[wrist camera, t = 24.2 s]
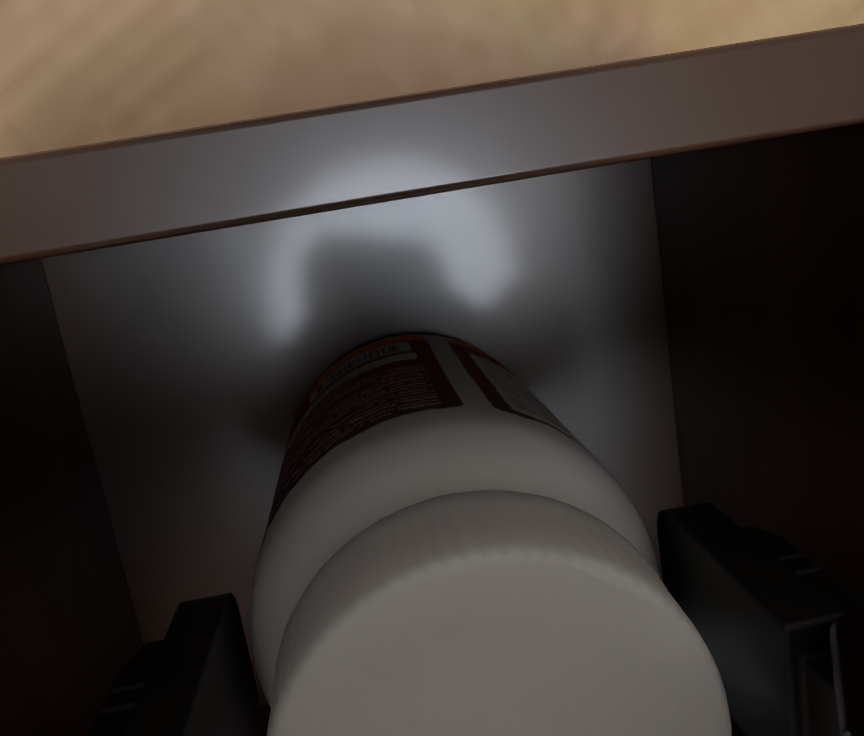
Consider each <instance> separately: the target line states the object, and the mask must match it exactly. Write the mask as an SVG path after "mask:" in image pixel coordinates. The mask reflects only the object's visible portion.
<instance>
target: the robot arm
mask: <svg viewBox="0 0 864 736" xmlns="http://www.w3.org/2000/svg"><path fill="white" fill-rule="evenodd" d="M657 533H658V542H659V551H660V561H661V570H662V580H663V583H664V585H665V586H666V588H667V590H668V592H669V593H670V594H671V596H672V597H673V598H674V599H675V601H676V602H677V603H678V605H679V606H680V607H681V609H682V610H683V611H684V613H685V614H686V615H687V616H688V618H689V619H690V620H691V622H692V623H693V625H694V626H695V628H696V629H697V631H698V632H699V634H700V635H701V637H702V639H703V640H704V642H705V644H706V646H707V647H708V649H709V651H710V653H711V654H712V656H713V658H714V661H715V663H716V665H717V668H718V670H719V673H720V676H721V679H722V682H723V685H724V689H725V692H726V696H727V702H728V707H729V712H730V715H731V717H732V718H733V719H734V721H735V722H736V724H737V725H738V726H739V728H740V729H741V730H742V732H743V733H744V734H745V736H864V600H863V599H862V598H860V597H859V596H858V595H857V594H855V593H854V592H853V591H851V590H850V589H849V588H847V587H846V586H845V585H844V584H842V583H841V582H840V581H838V580H837V579H836V578H835V577H833V576H832V575H831V574H829V573H828V572H827V571H822V570H821V567H820V566H819V565H818V564H816V563H815V562H814V561H813V560H811V559H810V558H809V557H804V555H803V553H802V552H801V551H800V550H798V549H797V548H796V547H794V546H793V545H792V544H791V543H789V542H788V541H787V540H785V539H784V538H783V537H781V536H778V535H775V534H773V533H770V532H767V531H765V530H762V529H759V528H756V527H754V526H745V527H740V526H738V525H737V524H736V523H735V522H734V521H732V520H731V519H730V518H729V517H728V516H726V515H725V514H724V513H723V512H722V511H720V510H719V509H718V508H717V507H716V506H714V505H713V504H712V503H710V502H708V501H706V502H701V503H696V504H691V505H686V506H680V507H675V508H670V509H665V510H661V511H659V513H658V516H657ZM110 692H111V694H109V695H107V697H106V699H105V701H104V703H103V705H102V707H101V709H100V711H101V714H100V715H98V716H97V718H96V720H95V722H94V724H93V726H92V728H91V730H90V732H89V734H88V736H259V732H260V704H259V696H258V689H257V684H256V680H255V676H254V671H253V667H252V663H251V659H250V654H249V650H248V646H247V641H246V637H245V633H244V629H243V624H242V620H241V616H240V611H239V608H238V604H237V601H236V599H235V597H234V595H233V594H232V593H226V594H220V595H215V596H210V597H205V598H200V599H195V600H189V601H184V602H181V603H180V604H179V605H178V607H177V610H176V612H175V614H174V617H173V619H172V621H171V624H170V626H169V628H168V631H167V633H166V635H165V638H164V639H163V640H158V641H153V642H148V643H146V644H145V645H144V646H143V647H142V648H141V649H140V650H139V651H138V652H136V653H135V654H134V655H133V656H132V657H131V658H130V659H129V660H128V661H127V662H126V663H125V664H124V665H123V666H122V667H121V669H120V671H119V673H118V675H117V677H116V679H115V681H114V683H113V685H112V687H111V689H110Z"/></svg>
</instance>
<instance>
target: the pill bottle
mask: <svg viewBox="0 0 864 736" xmlns="http://www.w3.org/2000/svg"><path fill="white" fill-rule="evenodd" d="M250 637H251V646H252V652H253V658H254V663H255V667H256V671H257V674H258V678H259V681H260V684H261V686H262V689H263V692H264V694H265V697H266V699H267V701H268V703H269V705H270V707H271V711H270V716H269V722H268V729H267V736H732V730H731V719H730V712H729V707H728V702H727V696H726V692H725V689H724V685H723V682H722V679H721V676H720V673H719V670H718V668H717V665H716V663H715V661H714V658H713V656H712V654H711V653H710V651H709V649H708V647H707V646H706V644H705V642H704V640H703V639H702V637H701V635H700V634H699V632H698V631H697V629H696V628H695V626H694V625H693V623H692V622H691V620H690V619H689V618H688V616H687V615H686V614H685V613H684V611H683V610H682V609H681V607H680V606H679V605H678V603H677V602H676V601H675V599H674V598H673V597H672V596H671V594H670V593H669V592H668V590H667V588H666V586H665V585H664V583H663V582H662V581H661V579H660V574H659V569H658V564H657V559H656V555H655V552H654V549H653V545H652V542H651V540H650V537H649V534H648V532H647V529H646V527H645V525H644V523H643V521H642V519H641V517H640V515H639V514H638V512H637V510H636V508H635V507H634V505H633V503H632V502H631V500H630V499H629V497H628V496H627V494H626V493H625V491H624V490H623V488H622V487H621V485H620V484H619V482H618V481H617V480H616V479H615V478H614V477H613V476H612V475H611V474H610V473H609V472H608V471H607V470H606V469H605V468H604V467H603V466H602V464H601V463H600V462H599V461H598V460H597V459H596V458H595V456H593V455H592V454H591V453H590V451H589V450H588V449H587V448H586V447H585V446H584V445H583V444H582V443H581V442H580V441H579V440H578V439H577V438H576V437H575V436H574V435H573V434H572V433H571V432H570V431H569V430H568V429H567V428H566V427H565V426H564V425H563V424H562V423H561V422H560V421H559V420H558V419H557V417H556V416H555V415H554V414H553V413H552V412H551V411H550V410H549V409H548V408H547V407H546V406H545V405H544V404H543V403H542V402H541V401H540V400H539V399H538V398H537V397H536V396H535V395H534V394H533V393H532V392H531V391H530V390H529V389H528V388H527V387H526V386H525V385H524V384H523V383H522V381H521V380H520V379H518V378H517V377H516V376H515V375H514V374H513V373H512V372H511V371H510V370H508V369H507V368H506V367H505V366H504V365H503V364H501V363H500V362H498V361H497V360H496V359H494V358H493V357H492V356H490V355H488V354H487V353H485V352H483V351H482V350H480V349H478V348H476V347H474V346H472V345H469V344H467V343H464V342H462V341H459V340H455V339H452V338H448V337H442V336H436V335H426V334H410V335H399V336H393V337H388V338H384V339H381V340H378V341H375V342H372V343H370V344H367V345H365V346H363V347H360V348H358V349H357V350H355V351H353V352H351V353H350V354H348V355H346V356H345V357H344V358H342V359H341V360H340V361H338V362H337V363H336V364H334V365H333V366H332V367H331V368H330V369H328V370H327V371H326V372H325V373H324V374H323V375H322V377H321V378H320V379H319V380H318V381H317V382H316V384H315V385H314V386H313V387H312V389H311V390H310V392H309V393H308V395H307V396H306V398H305V399H304V401H303V403H302V405H301V407H300V409H299V411H298V413H297V415H296V417H295V420H294V422H293V425H292V428H291V431H290V434H289V438H288V442H287V446H286V451H285V456H284V459H283V462H282V466H281V470H280V475H279V479H278V482H277V486H276V490H275V494H274V499H273V503H272V508H271V511H270V515H269V519H268V523H267V527H266V531H265V534H264V537H263V540H262V546H261V549H260V552H259V556H258V559H257V563H256V567H255V570H254V574H253V588H252V594H251V606H250Z"/></svg>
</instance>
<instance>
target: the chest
mask: <svg viewBox="0 0 864 736" xmlns="http://www.w3.org/2000/svg"><path fill="white" fill-rule="evenodd" d="M410 334H426V335H436V336H442V337H448V338H452V339H455V340H459V341H462V342H464V343H467V344H469V345H472V346H474V347H476V348H478V349H480V350H482V351H483V352H485V353H487V354H488V355H490V356H492V357H493V358H494V359H496V360H497V361H498V362H500V363H501V364H503V365H504V366H505V367H506V368H507V369H508V370H510V371H511V372H512V373H513V374H514V375H515V376H516V377H517V378H518V379H520V380H521V381H522V383H523V384H524V385H525V386H526V387H527V388H528V389H529V390H530V391H531V392H532V393H533V394H534V395H535V396H536V397H537V398H538V399H539V400H540V401H541V402H542V403H543V404H544V405H545V406H546V407H547V408H548V409H549V410H550V411H551V412H552V413H553V414H554V415H555V416H556V417H557V419H558V420H559V421H560V422H561V423H562V424H563V425H564V426H565V427H566V428H567V429H568V430H569V431H570V432H571V433H572V434H573V435H574V436H575V437H576V438H577V439H578V440H579V441H580V442H581V443H582V444H583V445H584V446H585V447H586V448H587V449H588V450H589V451H590V453H591V454H592V455H593V456H595V458H596V459H597V460H598V461H599V462H600V463H601V464H602V466H603V467H604V468H605V469H606V470H607V471H608V472H609V473H610V474H611V475H612V476H613V477H614V478H615V479H616V480H617V481H618V482H619V484H620V485H621V487H622V488H623V490H624V491H625V493H626V494H627V496H628V497H629V499H630V500H631V502H632V503H633V505H634V507H635V508H636V510H637V512H638V514H639V515H640V517H641V519H642V521H643V523H644V525H645V527H646V529H647V532H648V534H649V537H650V540H651V542H652V545H653V549H654V552H655V555H656V559H657V564H658V569H659V574H660V579H661V581H662V582H663V580H662V570H661V561H660V551H659V542H658V533H657V516H658V513H659V511H661V510H665V509H670V508H675V507H680V506H686V505H691V504H696V503H701V502H706V501H708V502H710V503H712V504H713V505H714V506H716V507H717V508H718V509H719V510H720V511H722V512H723V513H724V514H725V515H726V516H728V517H729V518H730V519H731V520H732V521H734V522H735V523H736V524H737V525H738V526H740V527H745V526H754V527H756V528H759V529H762V530H765V531H767V532H770V533H773V534H775V535H778V536H781V537H783V538H784V539H785V540H787V541H788V542H789V543H791V544H792V545H793V546H794V547H796V548H797V549H798V550H800V551H801V552H802V553H803V555H804V557H809V558H810V559H811V560H813V561H814V562H815V563H816V564H818V565H819V566H820V567H821V570H822V571H827V572H828V573H829V574H831V575H832V576H833V577H835V578H836V579H837V580H838V581H840V582H841V583H842V584H844V585H845V586H846V587H847V588H849V589H850V590H851V591H853V592H854V593H855V594H857V595H858V596H859V597H860V598H862V599H863V600H864V24H858V25H851V26H845V27H838V28H832V29H825V30H819V31H813V32H806V33H800V34H793V35H787V36H781V37H774V38H768V39H761V40H755V41H749V42H742V43H736V44H729V45H723V46H717V47H710V48H704V49H697V50H691V51H685V52H678V53H672V54H665V55H659V56H652V57H646V58H640V59H633V60H627V61H620V62H614V63H608V64H601V65H595V66H588V67H582V68H576V69H569V70H563V71H556V72H550V73H544V74H537V75H531V76H524V77H518V78H512V79H505V80H499V81H492V82H486V83H479V84H473V85H467V86H460V87H454V88H447V89H441V90H435V91H428V92H422V93H415V94H409V95H403V96H396V97H390V98H383V99H377V100H371V101H364V102H358V103H351V104H345V105H338V106H332V107H326V108H319V109H313V110H306V111H300V112H294V113H287V114H281V115H274V116H268V117H262V118H255V119H249V120H242V121H236V122H230V123H223V124H217V125H210V126H204V127H198V128H191V129H185V130H178V131H172V132H165V133H159V134H153V135H146V136H140V137H133V138H127V139H121V140H114V141H108V142H101V143H95V144H89V145H82V146H76V147H69V148H63V149H57V150H50V151H44V152H37V153H31V154H24V155H18V156H12V157H5V158H0V736H88V734H89V732H90V730H91V728H92V726H93V724H94V722H95V720H96V718H97V716H98V715H100V714H101V711H100V709H101V707H102V705H103V703H104V701H105V699H106V697H107V695H109V694H111V692H110V689H111V687H112V685H113V683H114V681H115V679H116V677H117V675H118V673H119V671H120V669H121V667H122V666H123V665H124V664H125V663H126V662H127V661H128V660H129V659H130V658H131V657H132V656H133V655H134V654H135V653H136V652H138V651H139V650H140V649H141V648H142V647H143V646H144V645H145V644H146V643H148V642H153V641H158V640H163V639H164V638H165V635H166V633H167V631H168V628H169V626H170V624H171V621H172V619H173V617H174V614H175V612H176V610H177V607H178V605H179V604H180V603H181V602H184V601H189V600H195V599H200V598H205V597H210V596H215V595H220V594H226V593H232V594H233V595H234V597H235V599H236V601H237V604H238V608H239V611H240V616H241V620H242V624H243V629H244V633H245V637H246V641H247V646H248V650H249V654H250V659H251V663H252V667H253V671H254V676H255V680H256V684H257V689H258V696H259V704H260V732H259V736H267V729H268V722H269V716H270V711H271V707H270V705H269V703H268V701H267V699H266V697H265V694H264V692H263V689H262V686H261V684H260V681H259V678H258V674H257V671H256V667H255V663H254V658H253V652H252V646H251V637H250V606H251V594H252V588H253V574H254V570H255V567H256V563H257V559H258V556H259V552H260V549H261V546H262V540H263V537H264V534H265V531H266V527H267V523H268V519H269V515H270V511H271V508H272V503H273V499H274V494H275V490H276V486H277V482H278V479H279V475H280V470H281V466H282V462H283V459H284V456H285V451H286V446H287V442H288V438H289V434H290V431H291V428H292V425H293V422H294V420H295V417H296V415H297V413H298V411H299V409H300V407H301V405H302V403H303V401H304V399H305V398H306V396H307V395H308V393H309V392H310V390H311V389H312V387H313V386H314V385H315V384H316V382H317V381H318V380H319V379H320V378H321V377H322V375H323V374H324V373H325V372H326V371H327V370H328V369H330V368H331V367H332V366H333V365H334V364H336V363H337V362H338V361H340V360H341V359H342V358H344V357H345V356H346V355H348V354H350V353H351V352H353V351H355V350H357V349H358V348H360V347H363V346H365V345H367V344H370V343H372V342H375V341H378V340H381V339H384V338H388V337H393V336H399V335H410ZM730 719H731V730H732V736H745V734H744V733H743V732H742V730H741V729H740V728H739V726H738V725H737V724H736V722H735V721H734V719H733V718H732V717H731V715H730Z"/></svg>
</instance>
